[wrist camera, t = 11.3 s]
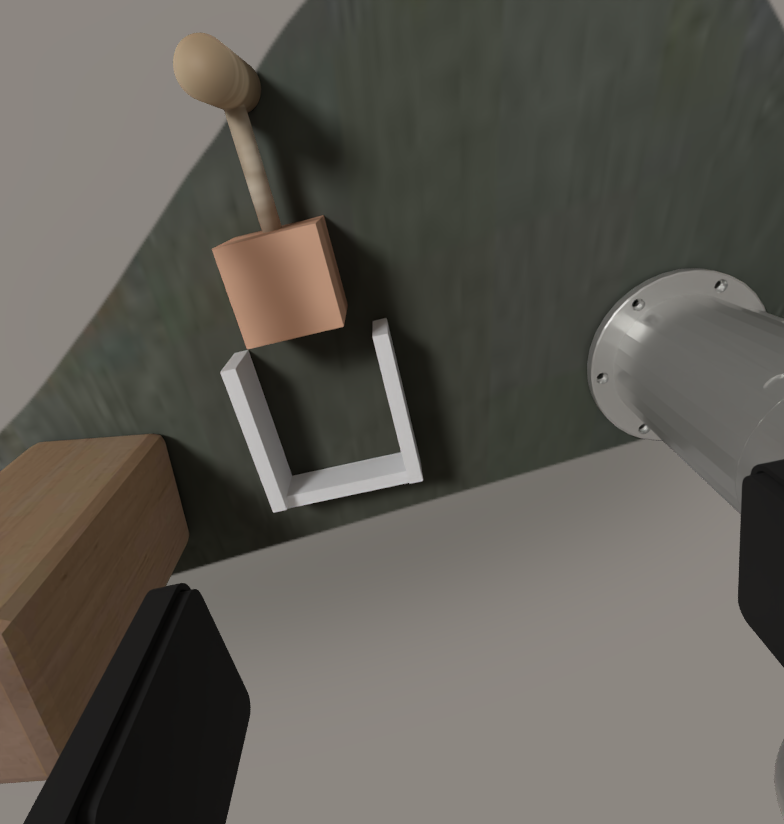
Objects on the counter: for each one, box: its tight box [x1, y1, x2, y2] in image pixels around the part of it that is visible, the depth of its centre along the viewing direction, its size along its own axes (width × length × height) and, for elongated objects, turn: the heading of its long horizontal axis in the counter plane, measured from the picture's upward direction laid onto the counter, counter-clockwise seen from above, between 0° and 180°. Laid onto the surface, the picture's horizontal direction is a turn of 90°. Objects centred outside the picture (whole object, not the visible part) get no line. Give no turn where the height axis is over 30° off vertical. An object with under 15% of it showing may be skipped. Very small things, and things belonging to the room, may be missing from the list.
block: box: [173, 33, 348, 349], centre depth 32 cm, size 6×15×7 cm, turn 13°
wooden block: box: [0, 434, 189, 784], centre depth 34 cm, size 10×10×20 cm
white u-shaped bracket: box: [220, 318, 423, 513], centre depth 39 cm, size 11×12×4 cm
